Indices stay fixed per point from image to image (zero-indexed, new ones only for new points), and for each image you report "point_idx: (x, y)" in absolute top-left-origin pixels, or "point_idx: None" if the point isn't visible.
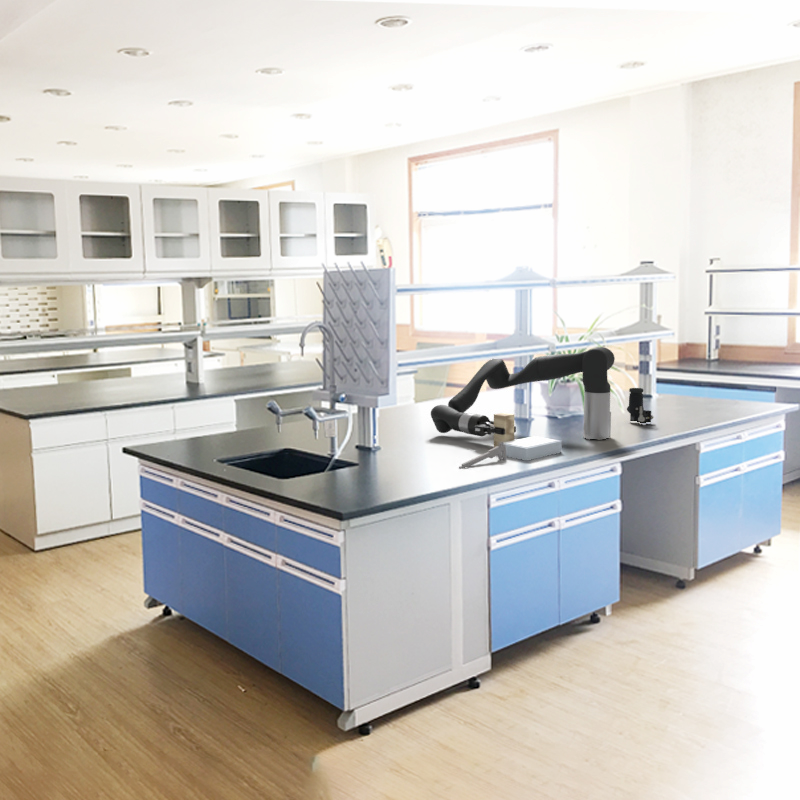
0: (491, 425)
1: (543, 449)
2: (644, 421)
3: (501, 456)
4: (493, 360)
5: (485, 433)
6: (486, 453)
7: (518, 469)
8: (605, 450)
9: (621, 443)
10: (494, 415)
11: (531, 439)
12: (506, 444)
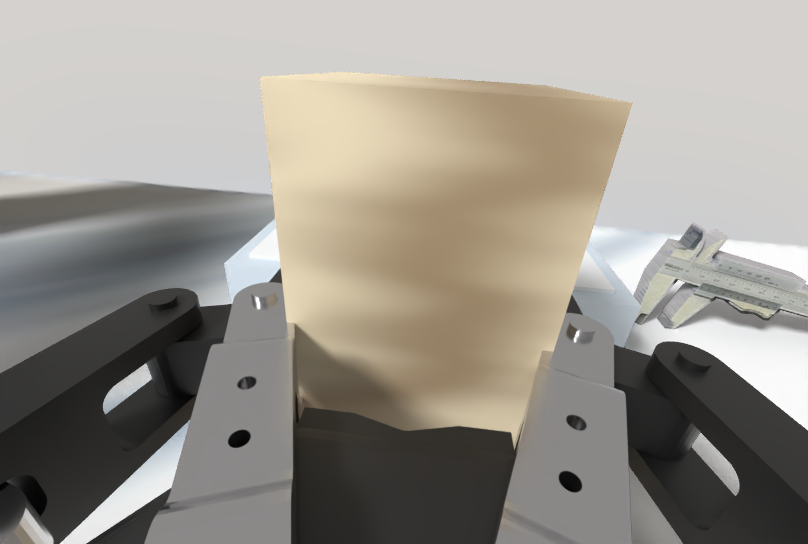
0: (583, 380)
1: None
2: None
3: (671, 301)
4: None
5: (714, 491)
6: None
7: (663, 242)
8: (202, 193)
9: (39, 190)
10: (616, 127)
11: None
12: (609, 270)
